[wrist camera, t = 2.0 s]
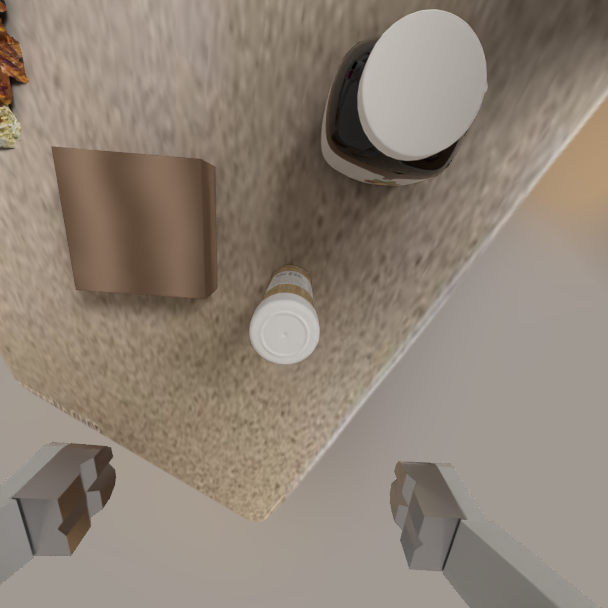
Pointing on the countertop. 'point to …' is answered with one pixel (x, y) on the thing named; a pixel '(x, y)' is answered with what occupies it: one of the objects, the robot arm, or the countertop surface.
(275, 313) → the sprinkles bottle
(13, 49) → the pastry
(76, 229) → the walnut base
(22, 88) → the countertop surface
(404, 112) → the spread jar
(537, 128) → the countertop surface
